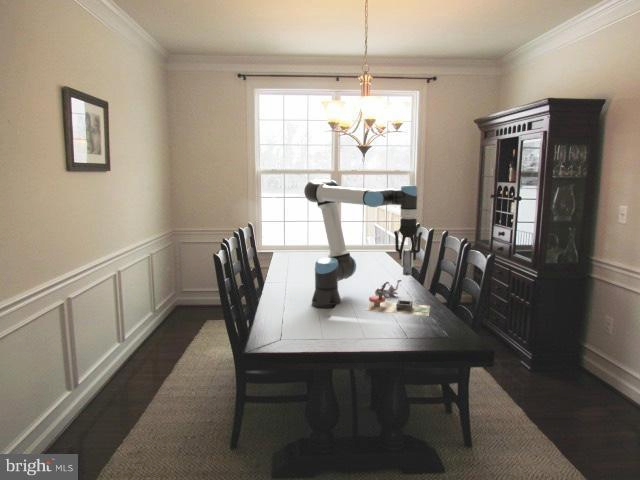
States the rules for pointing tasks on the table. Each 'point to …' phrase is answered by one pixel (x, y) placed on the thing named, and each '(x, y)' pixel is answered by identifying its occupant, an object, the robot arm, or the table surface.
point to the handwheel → (377, 299)
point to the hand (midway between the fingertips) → (407, 266)
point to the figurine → (388, 292)
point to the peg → (407, 262)
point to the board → (400, 308)
